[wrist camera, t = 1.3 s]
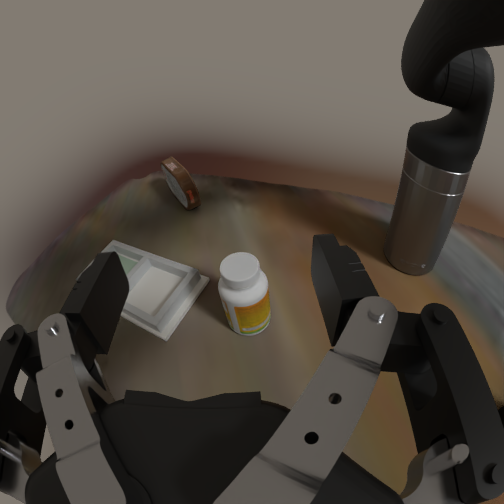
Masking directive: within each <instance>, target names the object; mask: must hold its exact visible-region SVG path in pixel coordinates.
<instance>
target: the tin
mask: <svg viewBox="0 0 504 504" xmlns="http://www.w3.org/2000/svg"><path fill="white" fill-rule="evenodd" d="M161 168H162V170H163V172H164V175H165V179H166V182H167V184H168V186H169V188H170V190H171V191H172V193H173V194H174V195H175V197H176V198H177V199H178V200H179V201H180V203H181V204H182V205H183V206H184V207H185V209H187V210H191V209H193V208H195V207H197V206H200V205H201V200H200V196H199V193H198V190H197V188H196V185H195V183H194V181H193V179H192V177H191V176H190V174H189V173H188V171H187V170H186V169H185V168H184V167H183V166H182V165H181V164H180V163H178V162H177V161H176V160H175V159H174V158H173V157H170V158H168V159H166V160H164V161H162V162H161Z"/></svg>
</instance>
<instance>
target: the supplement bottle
mask: <svg viewBox="0 0 504 504" xmlns="http://www.w3.org/2000/svg"><path fill="white" fill-rule="evenodd" d="M220 273H221V277H220V279H219V283H218V290H219V295H220V298H221V301H222V304H223V308H224V311H225V314H226V317H227V320H228V323H229V325H230V327H231V328H232V329H233V330H234V331H235V332H236V333H238V334H241V335H247V336H248V335H255V334H258V333H260V332H262V331H263V330H264V329H265V328H266V327H267V326H268V324H269V322H270V318H271V313H270V301H269V290H268V281H267V277H266V275H265V274H264V272H263V271H262V270H261V269H260V266H259V262H258V260H257V258H256V257H255V256H253V255H252V254H249V253H245V252H238V253H234V254H231V255H229V256H227V257H226V258H225V259H224V260H223V261H222V263H221V265H220Z"/></svg>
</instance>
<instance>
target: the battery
mask: <svg viewBox="0 0 504 504" xmlns="http://www.w3.org/2000/svg"><path fill="white" fill-rule="evenodd" d="M498 412H499V415H500V418H501V422H502V425H503V428H504V406H503V407H501V408H500V409H499V410H498Z"/></svg>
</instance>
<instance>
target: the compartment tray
mask: <svg viewBox="0 0 504 504" xmlns="http://www.w3.org/2000/svg"><path fill="white" fill-rule="evenodd" d="M113 251H115V252H116V253H117V254H118V256H119V258H120V261H121V263H122V266H123V268H124V271H125V273H126V276H127V278H128V281H129V294H128V297H127V299H126V302H125V305H124V307H123V310H122V313H121V316H122V317H123V318H125V319H127V320H128V321H130V322H132V323H134V324H135V325H137V326H139V327H141V328H142V329H144V330H146V331H148V332H149V333H151V334H153V335H155V336H157V337H159V338H160V339H162V340H164V341H166V342H167V340H168V339H169V337H170V336H171V334H172V333H173V332H174V330H175V329H176V327H177V326H178V324H179V323H180V322H181V320H182V319H183V317H184V316H185V315H186V313H187V312H188V310H189V309H190V307H191V306H192V305H193V303H194V302H195V300H196V299H197V298H198V296H199V295H200V293H201V292H202V291H203V289H204V288H205V286H206V285H207V284H208V282H209V281H210V280H209V278H208V277H205V276H203V275H200V273H199V270H198V269H195V268H192V267H189V266H186V265H183V264H180V263H177V262H174V261H172V260H169V259H166V258H163V257H160V256H157V255H154V254H151V253H149V252H146V251H143V250H140V249H137V248H135V247H132V246H129V245H126V244H124V243H121V242H118V241H115V240H113V241H112V242H111V243H110V244H109V245H108V246H107V247H106V248H105V249H104V250H103V251H102V252H113ZM102 252H101V253H102ZM93 261H94V260H93ZM93 261H92V262H93ZM92 262H91V263H90V264H89V265H88V266H87V268H88V267H89V266H90V265H91V264H92ZM87 268H86V269H87ZM86 269H85V270H86ZM81 274H82V273H81ZM81 274H80V275H81ZM80 275H79V276H78V277H77V278H76V280H78V279H79V277H80Z"/></svg>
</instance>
